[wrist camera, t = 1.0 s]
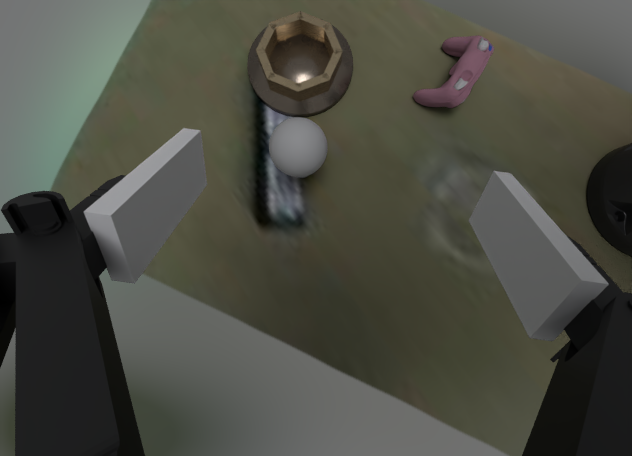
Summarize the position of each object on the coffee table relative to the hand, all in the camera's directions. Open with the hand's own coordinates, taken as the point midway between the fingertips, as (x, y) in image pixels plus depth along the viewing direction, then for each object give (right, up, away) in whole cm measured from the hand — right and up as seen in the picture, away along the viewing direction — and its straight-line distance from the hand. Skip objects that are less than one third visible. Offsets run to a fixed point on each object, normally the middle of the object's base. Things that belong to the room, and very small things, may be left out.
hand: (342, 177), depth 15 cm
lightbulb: (-3, +5, +27) cm, 27 cm away
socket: (-3, +19, +28) cm, 34 cm away
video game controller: (+16, +17, +28) cm, 37 cm away
